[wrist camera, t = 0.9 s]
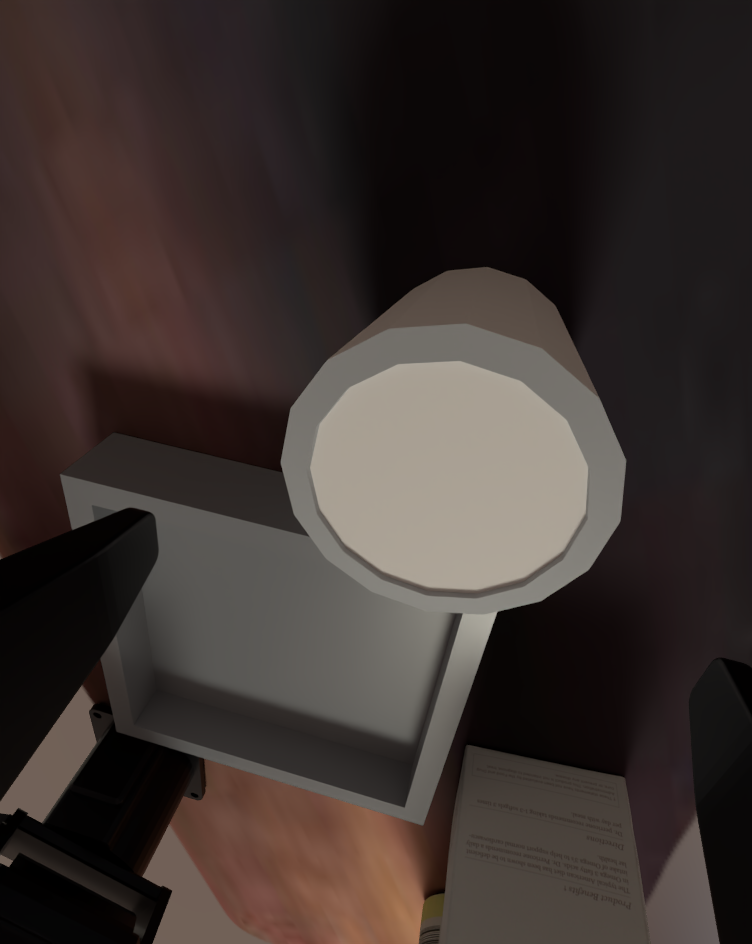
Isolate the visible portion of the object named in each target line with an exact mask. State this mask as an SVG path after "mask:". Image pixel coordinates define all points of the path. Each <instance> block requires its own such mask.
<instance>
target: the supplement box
mask: <svg viewBox="0 0 752 944" xmlns="http://www.w3.org/2000/svg"><path fill="white" fill-rule="evenodd" d="M440 944H651V943H650V936H649V929H648V922H647V915H646V909H645V902H644V895H643V888H642V882H641V875H640V868H639V862H638V856H637V850H636V844H635V839H634V832H633V826H632V819H631V813H630V806H629V800H628V794H627V788H626V782H625V778H624V777H621V776H615V775H610V774H605V773H600V772H595V771H590V770H585V769H580V768H576V767H571V766H566V765H561V764H556V763H551V762H547V761H542V760H537V759H533V758H528V757H523V756H518V755H514V754H509V753H504V752H500V751H495V750H490V749H486V748H481V747H476V746H471V745H466V748H465V753H464V758H463V764H462V769H461V775H460V780H459V785H458V790H457V795H456V801H455V807H454V814H453V821H452V829H451V838H450V847H449V856H448V867H447V877H446V888H445V897H444V906H443V916H442V925H441V934H440Z"/></svg>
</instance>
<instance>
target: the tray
mask: <svg viewBox="0 0 752 944" xmlns="http://www.w3.org/2000/svg"><path fill="white" fill-rule="evenodd" d="M60 477H61V482H62V486H63V491H64V495H65V500H66V504H67V509H68V513H69V518H70V523H71V527H72V530H74V529H76V528H79V527H81V526H84V525H86V524H88V523H91V522H93V521H96V520H98V519H101V518H103V517H106V516H108V515H110V514H113V513H115V512H118V511H120V510H123V509H125V508H129V507H132V508H137V509H141V510H145V511H149V512H151V513H153V515H154V516H155V519H156V526H157V535H158V544H159V555H158V559H157V561H156V564H155V566H154V567H153V569H152V571H151V573H150V575H149V576H148V578H147V580H146V582H145V584H144V585H143V587H142V589H141V591H140V593H139V595H138V596H137V598H136V600H135V602H134V604H133V605H132V607H131V609H130V611H129V613H128V615H127V616H126V618H125V620H124V622H123V624H122V625H121V627H120V629H119V631H118V632H117V634H116V636H115V637H114V639H113V641H112V642H111V644H110V645H109V647H108V648H107V650H106V651H105V653H104V654H103V655H102V657H101V658H100V659H101V663H102V668H103V672H104V677H105V681H106V686H107V690H108V695H109V699H110V704H111V708H112V713H113V717H114V722H115V727H116V731H117V732H119V733H123V734H126V735H129V736H132V737H136V738H139V739H142V740H145V741H149V742H152V743H155V744H158V745H162V746H165V747H168V748H172V749H175V750H178V751H181V752H185V753H188V754H191V755H194V756H198V757H201V758H204V759H207V760H211V761H214V762H217V763H220V764H224V765H227V766H230V767H233V768H237V769H240V770H243V771H247V772H250V773H253V774H256V775H260V776H263V777H266V778H269V779H273V780H276V781H279V782H282V783H286V784H289V785H292V786H295V787H299V788H302V789H305V790H308V791H312V792H315V793H318V794H321V795H325V796H328V797H331V798H335V799H338V800H341V801H344V802H348V803H351V804H354V805H357V806H361V807H364V808H367V809H370V810H374V811H377V812H380V813H383V814H387V815H390V816H393V817H396V818H400V819H403V820H406V821H409V822H413V823H416V824H419V825H424V822H425V819H426V816H427V813H428V810H429V807H430V804H431V802H432V799H433V796H434V793H435V790H436V787H437V784H438V781H439V778H440V776H441V773H442V770H443V767H444V764H445V761H446V758H447V755H448V753H449V750H450V747H451V744H452V741H453V738H454V735H455V732H456V730H457V727H458V724H459V721H460V718H461V715H462V712H463V709H464V706H465V704H466V701H467V698H468V695H469V692H470V689H471V686H472V683H473V681H474V678H475V675H476V672H477V669H478V666H479V663H480V660H481V657H482V655H483V652H484V649H485V646H486V643H487V640H488V637H489V634H490V632H491V629H492V626H493V623H494V620H495V617H496V614H497V612H494V613H489V614H485V615H479V614H463V613H448V612H432V611H424V610H421V609H418V608H416V607H413V606H410V605H407V604H404V603H401V602H399V601H396V600H393V599H390V598H387V597H385V596H382V595H379V594H376V593H373V592H371V591H370V590H368V589H367V588H365V587H364V586H363V585H361V584H360V583H359V582H357V581H356V580H354V579H353V578H352V577H350V576H349V575H348V574H346V573H345V572H343V571H342V570H341V569H339V568H338V567H337V566H335V565H334V564H332V563H331V562H330V561H328V560H327V559H326V558H325V557H324V555H323V554H322V553H321V551H320V550H319V549H318V547H317V546H316V544H315V543H314V542H313V540H312V539H311V537H310V536H309V535H308V533H307V532H306V531H305V529H304V528H303V526H302V525H301V524H300V522H299V521H298V519H297V518H296V517H295V515H294V513H293V509H292V505H291V501H290V497H289V493H288V489H287V486H286V482H285V478H284V474H283V473H282V472H278V471H274V470H269V469H265V468H261V467H257V466H253V465H248V464H244V463H240V462H236V461H232V460H227V459H223V458H219V457H215V456H211V455H207V454H202V453H198V452H194V451H190V450H186V449H181V448H177V447H173V446H169V445H165V444H160V443H156V442H152V441H148V440H144V439H139V438H135V437H131V436H127V435H123V434H118V433H114V432H113V433H112V434H111V435H109V436H108V437H107V438H106V439H104V440H103V441H102V442H101V443H99V444H98V445H97V446H95V447H94V448H93V449H92V450H90V451H89V452H88V453H86V454H85V455H84V456H83V457H81V458H80V459H79V460H77V461H76V462H75V463H74V464H72V465H71V466H70V467H68V468H67V469H66V470H65V471H63V472H62V473H61V474H60Z"/></svg>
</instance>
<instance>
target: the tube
mask: <svg viewBox="0 0 752 944" xmlns="http://www.w3.org/2000/svg"><path fill="white" fill-rule="evenodd" d="M444 897H445V893H441V894H437V895H433V896H430V897H429V898H427V899H426V900H425V902H424V904H423V911H422V919H421V928H420V937H419V944H440V934H441V925H442V916H443V906H444Z"/></svg>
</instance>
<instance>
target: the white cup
mask: <svg viewBox="0 0 752 944" xmlns="http://www.w3.org/2000/svg"><path fill="white" fill-rule="evenodd" d="M281 466H282V470H283V474H284V478H285V482H286V486H287V489H288V493H289V497H290V501H291V505H292V509H293V513H294V515H295V517H296V518H297V519H298V521H299V522H300V524H301V525H302V526H303V528H304V529H305V531H306V532H307V533H308V535H309V536H310V537H311V539H312V540H313V542H314V543H315V544H316V546H317V547H318V549H319V550H320V551H321V553H322V554H323V555H324V557H325V558H326V559H327V560H328V561H330V562H331V563H332V564H334V565H335V566H337V567H338V568H339V569H341V570H342V571H343V572H345V573H346V574H348V575H349V576H350V577H352V578H353V579H354V580H356V581H357V582H359V583H360V584H361V585H363V586H364V587H365V588H367V589H368V590H370V591H371V592H373V593H376V594H379V595H382V596H385V597H387V598H390V599H393V600H396V601H399V602H401V603H404V604H407V605H410V606H413V607H416V608H418V609H421V610H424V611H432V612H448V613H463V614H479V615H485V614H489V613H494V612H498V611H502V610H506V609H510V608H514V607H519V606H523V605H527V604H531V603H535V602H540V601H542V600H543V599H545V598H546V597H548V596H549V595H551V594H553V593H554V592H556V591H557V590H559V589H560V588H562V587H563V586H565V585H566V584H568V583H569V582H571V581H572V580H574V579H575V578H577V577H579V576H580V575H582V574H583V573H585V572H586V571H588V570H589V569H590V567H591V566H592V564H593V563H594V561H595V560H596V558H597V557H598V555H599V554H600V552H601V550H602V549H603V547H604V546H605V544H606V543H607V541H608V540H609V538H610V537H611V535H612V533H613V532H614V530H615V529H616V527H617V526H618V524H619V523H620V521H621V510H622V499H623V488H624V477H625V466H626V459H625V457H624V455H623V452H622V450H621V448H620V445H619V443H618V441H617V438H616V436H615V434H614V431H613V429H612V427H611V424H610V422H609V420H608V417H607V415H606V413H605V410H604V408H603V406H602V403H601V401H600V399H599V397H598V395H597V392H596V390H595V388H594V386H593V384H592V382H591V380H590V378H589V375H588V373H587V371H586V369H585V367H584V365H583V363H582V361H581V358H580V356H579V354H578V352H577V350H576V348H575V346H574V344H573V342H572V339H571V337H570V335H569V333H568V331H567V329H566V327H565V325H564V322H563V320H562V318H561V316H560V314H559V312H558V310H557V308H556V306H555V305H554V304H553V303H552V302H551V301H550V300H549V299H547V298H546V297H545V296H544V295H543V294H542V293H541V292H540V291H539V290H537V289H536V288H535V287H534V286H533V285H532V284H531V283H530V282H528V281H527V280H526V279H523V278H520V277H517V276H514V275H511V274H508V273H505V272H502V271H498V270H495V269H492V268H489V267H481V268H471V269H460V270H449V271H446V272H444V273H442V274H440V275H438V276H436V277H434V278H433V279H431V280H429V281H427V282H425V283H423V284H421V285H420V286H418V287H416V288H414V289H412V290H411V291H410V292H409V293H408V294H406V295H405V296H404V297H403V298H401V299H400V300H399V301H398V302H397V303H395V304H394V305H393V306H392V307H391V308H389V309H388V310H387V311H386V312H385V313H383V314H382V315H381V316H380V317H379V318H377V319H376V320H375V321H374V322H373V323H371V324H370V325H369V326H368V327H367V328H365V329H364V330H363V331H362V332H361V333H359V334H358V335H357V336H356V337H355V338H353V339H352V340H351V341H350V342H349V343H347V344H346V345H345V346H344V347H342V348H341V349H340V350H339V351H338V352H336V353H335V354H334V355H333V356H332V357H330V358H329V359H328V360H327V361H326V362H325V364H324V365H323V366H322V368H321V369H320V370H319V372H318V373H317V374H316V376H315V377H314V378H313V380H312V381H311V382H310V383H309V385H308V386H307V387H306V389H305V390H304V391H303V393H302V394H301V395H300V397H299V398H298V399H297V401H296V402H295V403H294V405H293V406H292V407H291V409H290V414H289V420H288V425H287V430H286V436H285V441H284V447H283V452H282V458H281Z"/></svg>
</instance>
